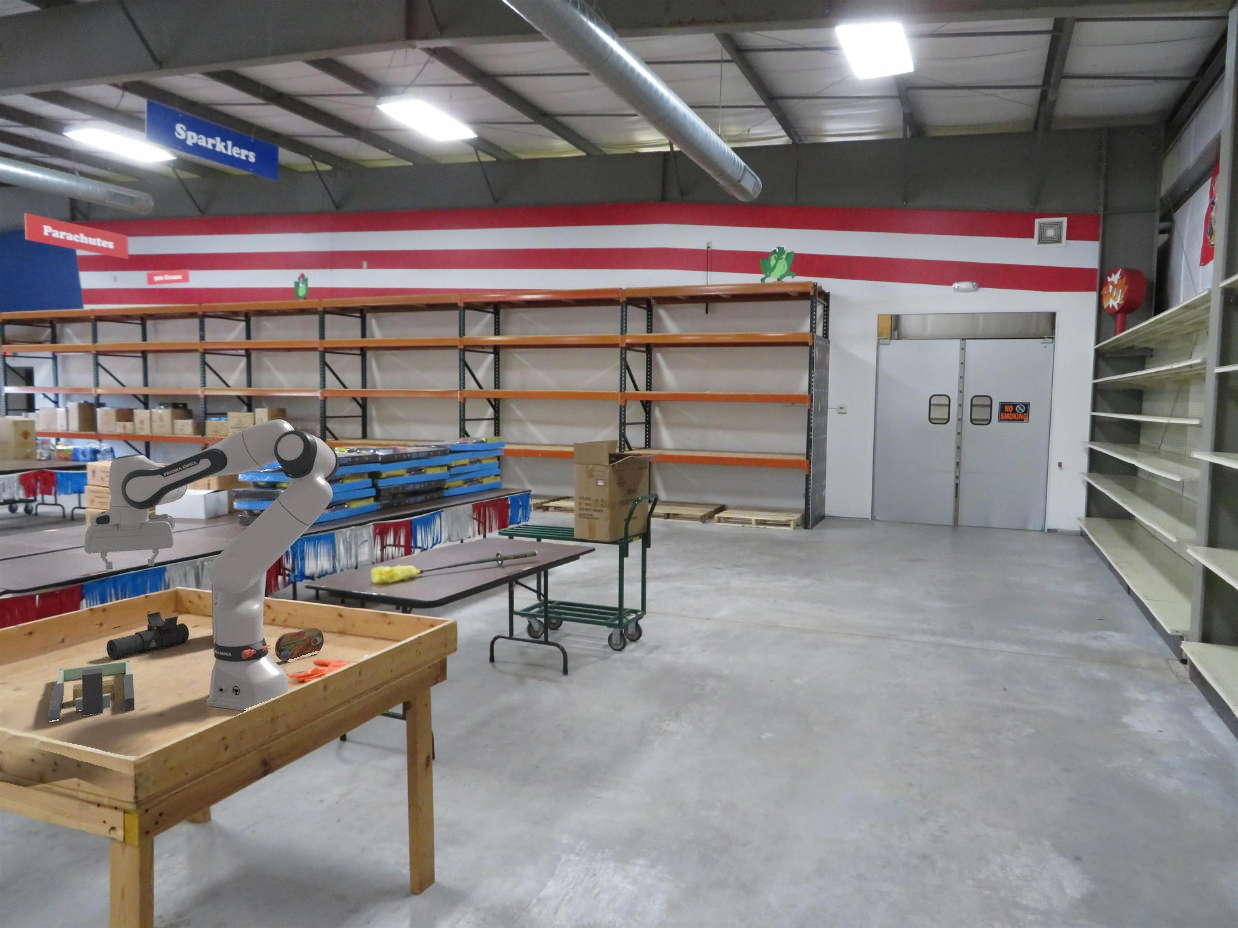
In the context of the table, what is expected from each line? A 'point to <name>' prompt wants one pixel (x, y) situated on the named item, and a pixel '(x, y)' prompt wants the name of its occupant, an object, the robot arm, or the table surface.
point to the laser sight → (150, 637)
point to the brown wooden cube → (109, 688)
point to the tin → (299, 643)
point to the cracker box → (214, 611)
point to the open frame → (106, 668)
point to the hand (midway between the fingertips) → (130, 567)
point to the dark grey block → (92, 693)
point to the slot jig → (59, 693)
